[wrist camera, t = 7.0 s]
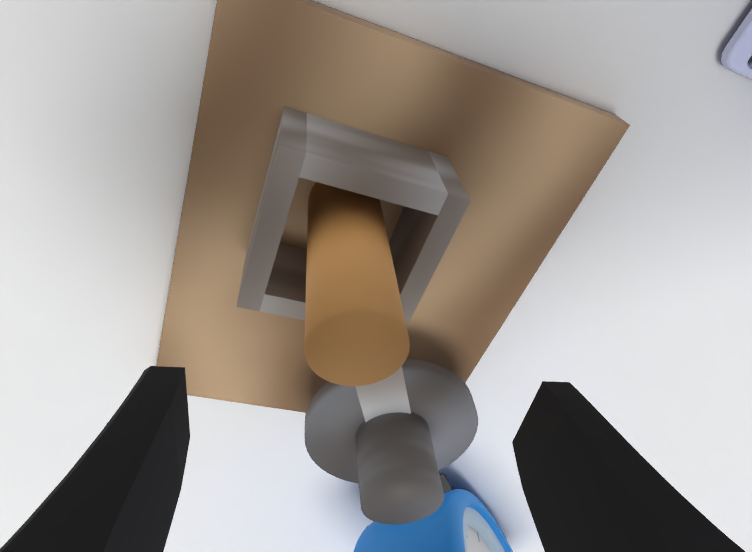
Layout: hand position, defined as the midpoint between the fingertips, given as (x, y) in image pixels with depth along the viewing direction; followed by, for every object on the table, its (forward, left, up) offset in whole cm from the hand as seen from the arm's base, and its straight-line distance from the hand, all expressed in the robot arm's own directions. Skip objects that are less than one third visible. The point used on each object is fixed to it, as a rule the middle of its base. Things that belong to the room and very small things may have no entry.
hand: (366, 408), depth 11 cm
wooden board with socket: (-1, +3, -10) cm, 10 cm away
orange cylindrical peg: (0, 0, -9) cm, 9 cm away
